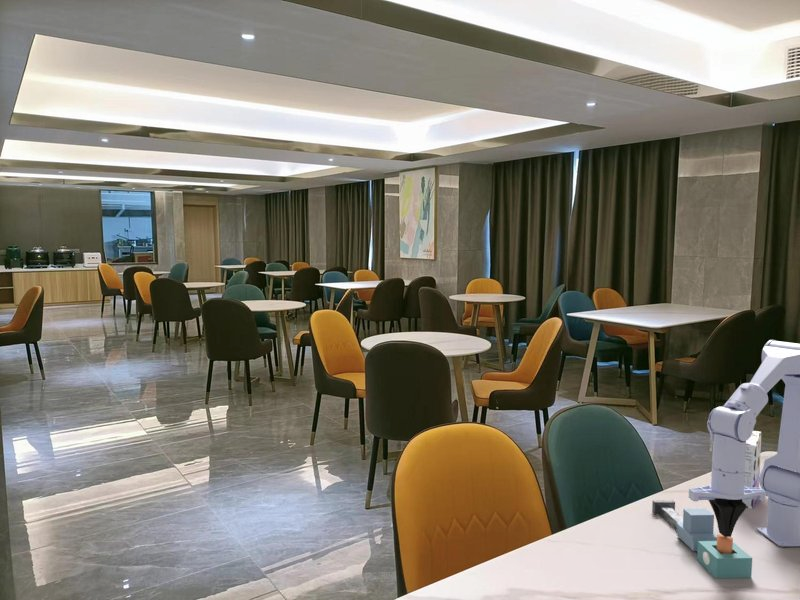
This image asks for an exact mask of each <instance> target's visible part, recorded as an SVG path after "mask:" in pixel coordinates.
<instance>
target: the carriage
mask: <svg viewBox="0 0 800 600" xmlns="http://www.w3.org/2000/svg"><path fill="white" fill-rule="evenodd" d="M682 513H683V515H682V517H683V523H676V527H677V530H676V536H677V537H678V538H679V539H680V540H681V541H682V542H683V543H685V545H687V547H688V548H690V549H691V551H693V552H698V541H717V535H718V534H717V533H716V532H715V531H714V527H715V526H714V525H715V514H714V513H712V512H711V511H710V510H709V509H707V508H683V512H682Z"/></svg>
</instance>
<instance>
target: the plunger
mask: <svg viewBox="0 0 800 600" xmlns="http://www.w3.org/2000/svg"><path fill="white" fill-rule="evenodd" d="M733 543H734V538H733V537H732V536H731V537H724V536H723V535H722V534H721V533H718V534H717V548H716V550H717V551H718V552H719V553H721V554H732V548H733Z"/></svg>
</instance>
